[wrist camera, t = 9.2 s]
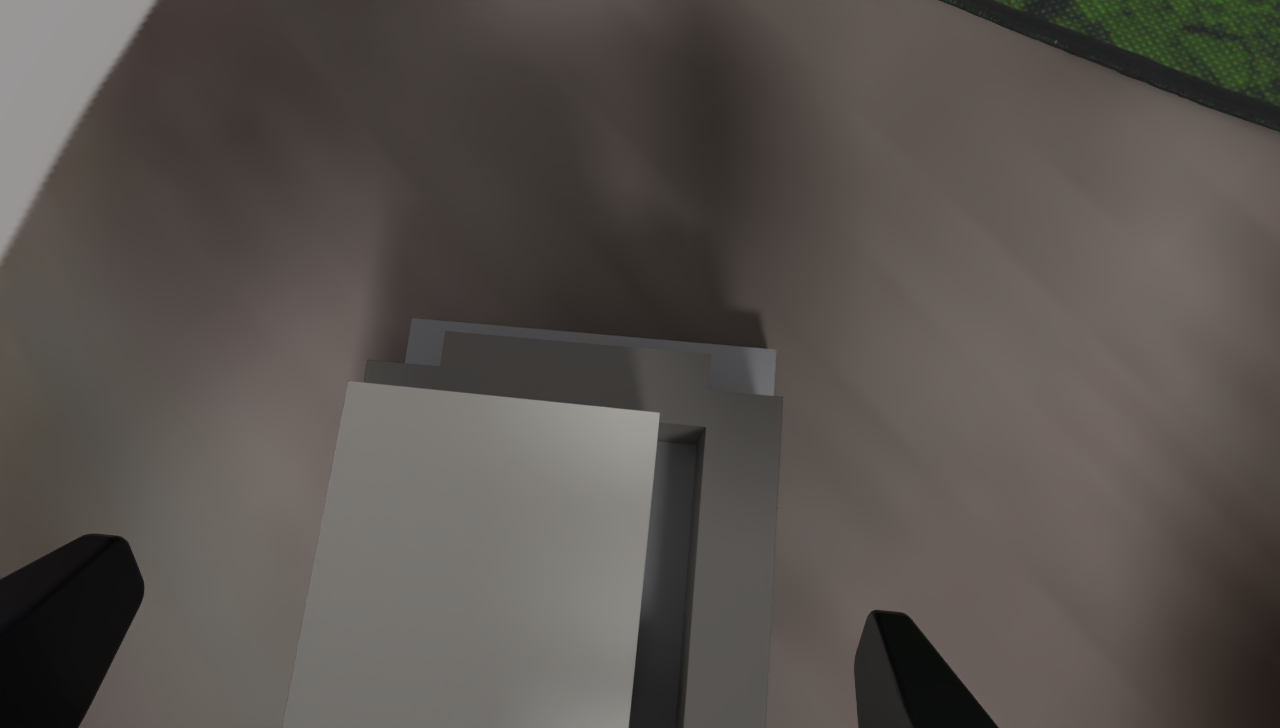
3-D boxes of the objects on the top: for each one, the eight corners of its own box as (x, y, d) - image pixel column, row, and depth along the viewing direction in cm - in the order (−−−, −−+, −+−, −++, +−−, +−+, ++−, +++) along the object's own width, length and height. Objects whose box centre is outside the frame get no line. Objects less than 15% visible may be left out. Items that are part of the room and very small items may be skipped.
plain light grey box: (630, 708, 17) (608, 923, 8) (474, 690, 17) (253, 879, 8) (653, 481, 18) (659, 412, 9) (506, 465, 18) (347, 380, 9)
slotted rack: (739, 882, 17) (766, 980, 14) (341, 839, 18) (255, 923, 14) (770, 358, 20) (799, 314, 16) (423, 328, 20) (369, 277, 16)
